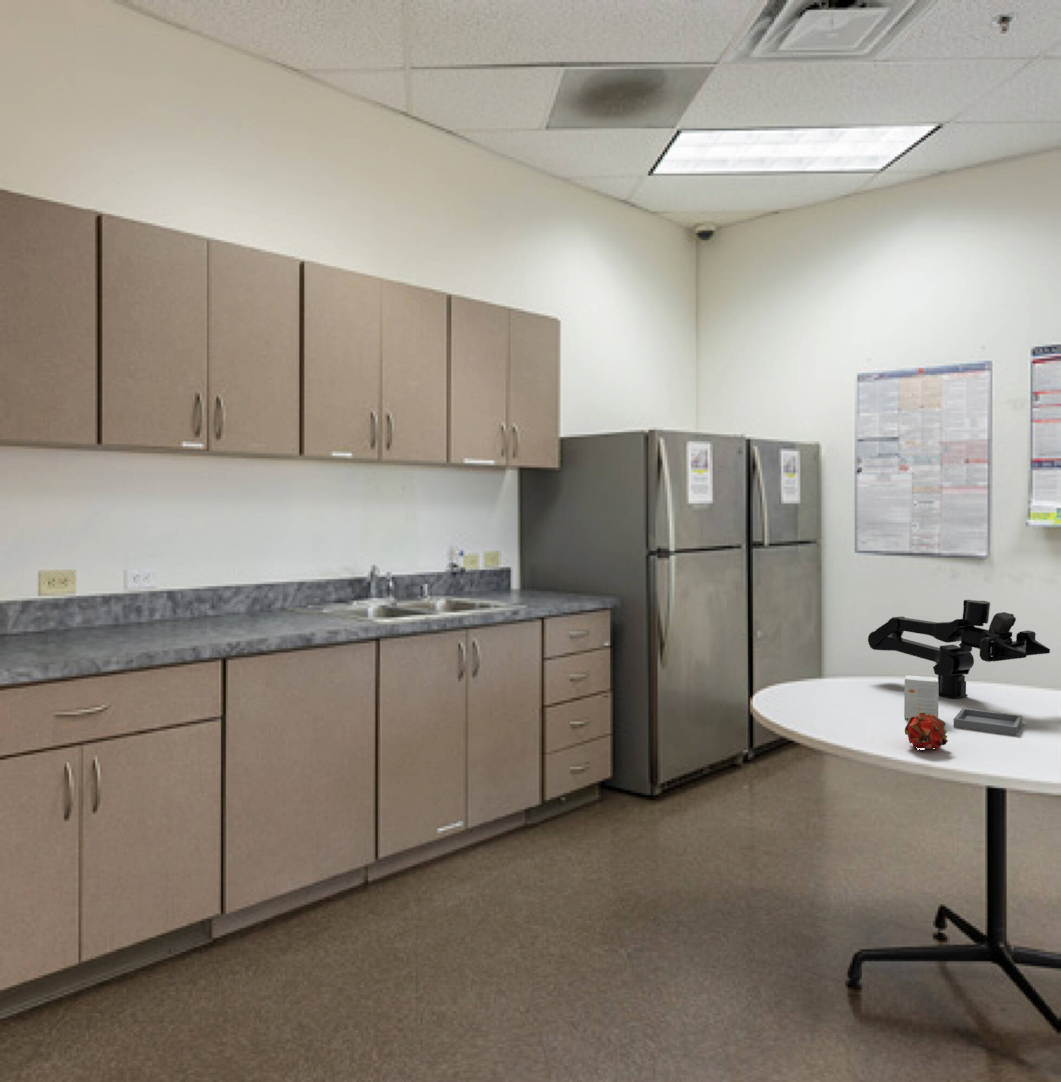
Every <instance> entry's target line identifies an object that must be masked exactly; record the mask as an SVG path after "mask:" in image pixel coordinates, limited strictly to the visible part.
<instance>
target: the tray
mask: <svg viewBox="0 0 1061 1082" xmlns="http://www.w3.org/2000/svg"><path fill="white" fill-rule="evenodd" d="M1022 725H1023V715H1021V714H1013V713H1003V712H996V711H987V710H980V709H979V710H978V709H970V708H965V707H964V708H961V709H960V711H959V712H958V713H957V714H956V716H954V718H953V728H957V727H960V728H959V729H964V728H966V730H973V731H979V730H980V732H986V731H987V732H988V733H993V732H995V734H1002V735H1010V736H1018V733H1019V732H1020V729H1021V728H1022Z"/></svg>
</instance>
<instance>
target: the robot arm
mask: <svg viewBox="0 0 1061 1082" xmlns="http://www.w3.org/2000/svg"><path fill="white" fill-rule="evenodd" d="M962 607H963V608H962V609H963V611H962V618H957V619H954V620H951V621H945V622H944V621H942V622H941V621H940V622H936V621H931V620H930V621H929V620H924V619H916V618H909V617H905V616H893V617H891V618H889V620H888V621H887V622H885V623H884V624H882V625H881V626H879V627H878V628H876V629H875V630H874V631H871V632H870V633H869V634H868V637H867V641H868V643H867V644H868V645H869V648H870V649H872V650H874V651H886V652H887V651H889V652H890V651H891V652H892V651H893V652H894V651H895V652H898V653H901V654H905V655H909V656H913V657H916V658H919V659H922V660H923V659H924V660H927V661H930V662H934V663H935V665H934V666H933V667H932V668H933V672H934V675H937V678H938V683H939V696H940V697H941V696H942V697H946V698H951V699H955V700H956V699H960V698H964V697H968V693H967V681H966V679H965V678H966V675H969V673H970V670H971V669H972V668H973V666H974V663H975V659H974V655H973V654H972V651H973V648H975V649H978V650H979V657H980V659H981V661H984V662H987V663H989V662H990V663H991V662H1000V661H1002V662H1003V661H1007V660H1008V661H1009V660H1016V659H1017V660H1019V659H1025V658H1027V656H1034V655H1046V654H1047V655H1048V654H1050V653H1051V649H1050V648H1049V647H1047V646H1046V645H1044V644H1042V643H1040V642H1039V641H1037V640H1036V635H1037V634H1036V632H1035V631H1033V630H1022V631H1019V632H1017V633H1016V634H1015V635H1016V638H1015V639H1016V640H1013V638H1012V637H1013V631H1011V629H1012V627H1013V626H1014V625H1015V623H1016V621H1017V618H1016V617H1015V615H1014V614H1013V613H1009V612H997V613H996V614H994V616H992V619H991V621H990V625H989V627H988V629H986V628H982V627H985V626H984V625H986V624H988V623H989V617H990V608H991V602H990V601H986V600H974V599H973V600H972V599H964V600H963V606H962ZM904 632H908V633H914V634H921V635H926V636H931V637H933V638H934V639H935V640H938V641H941V642H944V643H957V642H958V643H959V642H960V643H959V644H958V645H956V644H946V645H939V647H937V646H933V645H929V644H925V643H922V642H918V641H914V640H910V639H907V638H903V637H902V636H903V635H904Z"/></svg>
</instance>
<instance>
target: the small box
mask: <svg viewBox="0 0 1061 1082" xmlns="http://www.w3.org/2000/svg"><path fill="white" fill-rule="evenodd" d="M903 694H904V696H903V697H904V698H903V700H904V702H903V703H904V704H903V706H904V707H903V708H904V711H903V712H904V713H903V715H904V716H903V719H904V718H908V719H907V720H909V719H910V718H911V717H916V716H918V715H919V713H925V714H926V715H928V714H933V715H935V716H936V717H937V719H939V703H940V702H939V699H940V698H939V696H940V695H939V683H938V677H937V676H936V677H934V676H922V675H904V693H903Z"/></svg>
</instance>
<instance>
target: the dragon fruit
mask: <svg viewBox="0 0 1061 1082" xmlns="http://www.w3.org/2000/svg"><path fill="white" fill-rule="evenodd" d="M945 727H946V722H945V721H944V720H942V719H940V718H938V719H937V717H936V716H935V715H933V714H928V715H926V714H925V713H919V715H918V716H916V717H911V718H910V719H907V723H906V726H905V727H904V734H905V735H907V738H908V743H909V744H911V743H912V744H911V745H912V747H914V748H915V747H917V748H926V750H927V749H928V750H933V749H932V748H935V749H937V750H939V749H940V748H941V747H942V746H945V745H947V743H948V742H949V740H948V739H947V738H948V736H947V735H946V734H947V733H948V731H946V729H945ZM919 750H920V749H919Z"/></svg>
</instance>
